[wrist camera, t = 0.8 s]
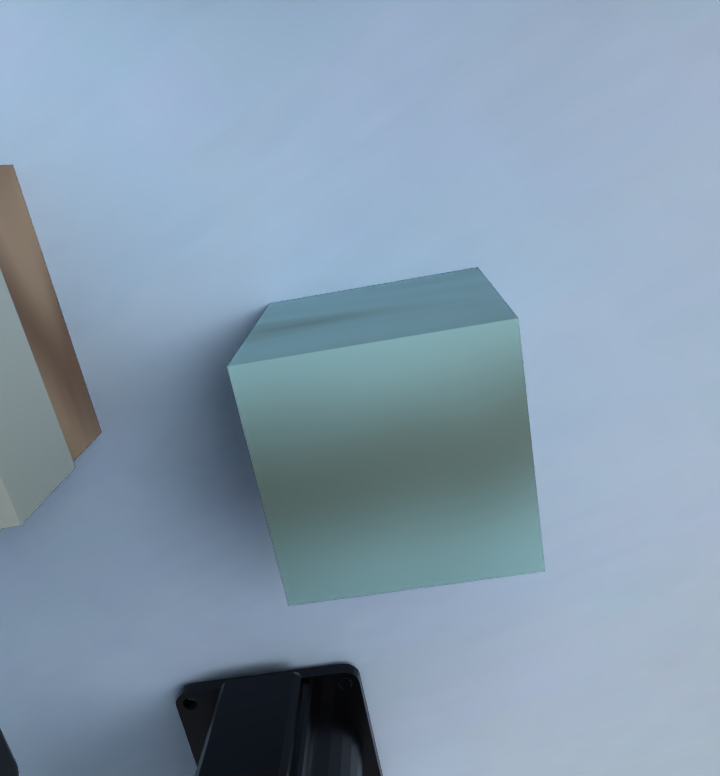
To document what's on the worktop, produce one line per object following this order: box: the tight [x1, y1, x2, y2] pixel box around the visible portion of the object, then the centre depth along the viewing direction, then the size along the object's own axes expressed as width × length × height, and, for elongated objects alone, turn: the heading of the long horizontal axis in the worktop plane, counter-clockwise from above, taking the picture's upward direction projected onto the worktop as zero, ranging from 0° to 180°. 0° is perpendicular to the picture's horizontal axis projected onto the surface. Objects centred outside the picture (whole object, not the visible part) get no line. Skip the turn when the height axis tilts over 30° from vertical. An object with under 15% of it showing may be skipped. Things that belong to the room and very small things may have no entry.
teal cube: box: [227, 267, 545, 606], centre depth 18 cm, size 6×6×6 cm
